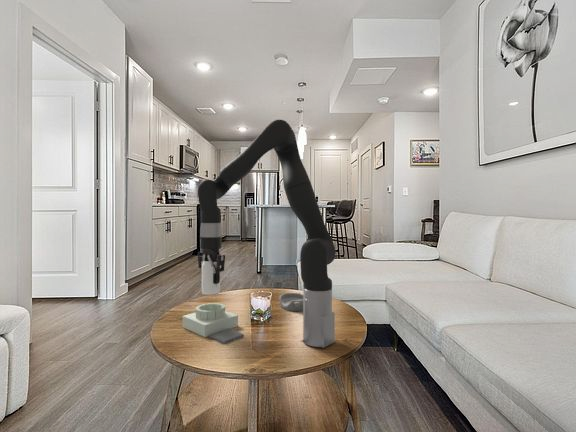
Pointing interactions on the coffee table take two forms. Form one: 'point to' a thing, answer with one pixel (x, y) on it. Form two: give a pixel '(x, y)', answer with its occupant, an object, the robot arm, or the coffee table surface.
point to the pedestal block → (210, 319)
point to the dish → (291, 301)
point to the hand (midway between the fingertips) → (210, 281)
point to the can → (209, 279)
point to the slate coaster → (226, 335)
